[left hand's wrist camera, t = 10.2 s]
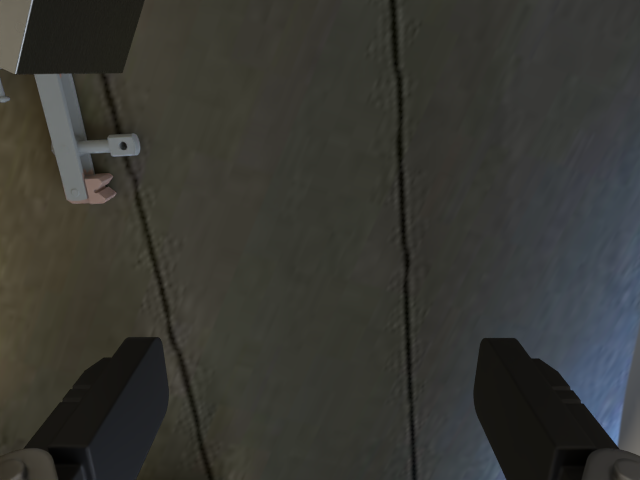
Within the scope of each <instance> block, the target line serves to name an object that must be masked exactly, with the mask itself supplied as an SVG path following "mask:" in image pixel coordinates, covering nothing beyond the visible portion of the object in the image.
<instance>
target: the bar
mask: <svg viewBox="0 0 640 480" xmlns="http://www.w3.org/2000/svg"><path fill="white" fill-rule="evenodd" d="M144 1H145V0H0V68H2V69H4V70H6V71H8V72H10V73H13V74H16V75H18V74H89V73H123V70H124V66H125V63H126V60H127V56H128V53H129V50H130V47H131V43H132V40H133V37H134V33H135V30H136V27H137V24H138V20H139V17H140V14H141V10H142V7H143V4H144Z"/></svg>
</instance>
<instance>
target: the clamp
mask: <svg viewBox="0 0 640 480" xmlns="http://www.w3.org/2000/svg"><path fill="white" fill-rule="evenodd" d="M0 69H2V68H0ZM34 75H35V79H36V83H37V87H38V91H39V95H40V98H41V102H42V106H43V110H44V114H45V117H46V121H47V125H48V129H49V133H50V137H51V140H52V144H51V150H52V152H53V154H54V155H55V156H56V160H57V163H58V167H59V171H60V175H61V179H62V183H63V188H64V192H65V195H66V199H67V200H68V201H70V202H71V203H72V204H79V203H90V204H100V203H105V202H106V201H108V200H110V199H111V198H113V197H114V196H115V195H116V194H117V193H116V192H115V191H114V190H113V189H111V188H110V187H106V186H105V185H107V184H108V183H109V182H110V180H111V179H112V178H113V176H112V175H111V174H110V173H101V174H95V172H94V167H93V163H92V159H91V155H90V153H108V152H111V156H132V155H138V154H139V152H140V142H139V139H138V137H137V135H136V134H116V135H109V136H108V139H106V140H87V137H86V133H85V129H84V125H83V120H82V116H81V112H80V107H79V103H78V99H77V95H76V90H75V86H74V82H73V77H72V74H34ZM9 100H10V97H8V96H5V92H4V89H3V86H2V82H1V79H0V103H1V102H6V101H9ZM124 142H125V143H126V144H127V148H126V147H125V146H124Z"/></svg>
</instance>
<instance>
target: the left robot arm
mask: <svg viewBox="0 0 640 480" xmlns="http://www.w3.org/2000/svg"><path fill="white" fill-rule="evenodd" d="M168 399H169V388H168V380H167V373H166V366H165V359H164V352H163V345H162V341H161V339H160V338H159V337H128V338H126V339H125V340H124V342H123V343H122V344H121V346H120V347H119V348H118V350H117V351H116V353H115V354H114V355H113V357H112V358H103V359H101V360H100V361H98V362H97V363H95V364H94V365H93V366H91V367H90V368H88V369H87V370H85V371H84V373H83V374H82V375H81V376H80V378H79V379H78V380H77V381H76V383H75V384H74V385H73V389H70V390H69V392H68V393H67V394H66V395H65V397H64V398H63V401H62V402H60V403H59V404H58V406H57V407H56V408H55V409H54V411H53V412H52V413H51V415H50V416H49V417H48V418H47V420H46V421H45V422H44V423H43V425H42V426H41V427H40V428H39V430H38V431H37V432H36V434H35V435H34V436H33V437H32V439H31V440H30V441H29V442H28V444H27V445H26V446H25V448H24V449H20V450H16V451H12V452H10V453H7V454H4V455H2V456H0V480H136V478H137V476H138V474H139V471H140V469H141V467H142V465H143V463H144V460H145V458H146V456H147V454H148V451H149V449H150V447H151V445H152V443H153V440H154V438H155V436H156V434H157V432H158V429H159V427H160V425H161V423H162V421H163V418H164V416H165V414H166V410H167V406H168ZM474 405H475V410H476V413H477V416H478V418H479V421H480V423H481V425H482V427H483V429H484V432H485V434H486V436H487V438H488V440H489V443H490V445H491V447H492V449H493V451H494V453H495V456H496V458H497V460H498V462H499V464H500V467H501V469H502V471H503V473H504V475H505V477H506V480H640V456H638V455H636V454H633V453H630V452H628V451H624V450H620V449H619V448H618V447H617V445H616V444H615V443H614V442H613V440H612V439H611V438H610V437H609V435H608V434H607V433H606V432H605V430H604V429H603V428H602V427H601V425H600V424H599V423H598V421H597V420H596V419H595V418H594V416H593V415H592V414H591V413H590V411H589V410H588V409H587V408H586V406H585V405H584V404H581V400H580V399H579V398H578V396H577V395H576V394H575V393H574V391H573V390H570V386H569V385H568V384H567V382H566V381H565V380H564V379H563V377H562V376H561V375H560V374H559V372H558V371H556V370H555V369H553V368H552V367H550V366H549V365H547V364H546V363H545V362H543V361H542V360H540V359H531V358H530V356H529V355H528V354H527V352H526V351H525V350H524V348H523V347H522V346H521V344H520V343H519V342H518V340H517V339H515V338H484V339H483V340H482V341H481V344H480V349H479V356H478V363H477V370H476V377H475V384H474Z"/></svg>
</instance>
